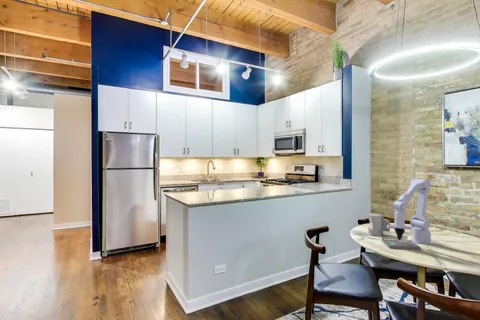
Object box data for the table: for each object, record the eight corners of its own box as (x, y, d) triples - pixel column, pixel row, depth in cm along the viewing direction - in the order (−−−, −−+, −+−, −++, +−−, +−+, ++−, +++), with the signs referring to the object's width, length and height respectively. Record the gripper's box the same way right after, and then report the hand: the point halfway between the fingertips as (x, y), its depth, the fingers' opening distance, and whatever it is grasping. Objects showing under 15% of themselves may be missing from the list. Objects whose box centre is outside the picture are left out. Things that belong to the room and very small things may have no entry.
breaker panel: (410, 243, 175) (410, 239, 175) (420, 250, 161) (420, 246, 161) (382, 241, 178) (382, 237, 178) (389, 248, 165) (389, 243, 165)
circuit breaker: (392, 236, 188) (392, 216, 188) (371, 235, 191) (371, 215, 191) (388, 233, 196) (388, 214, 195) (368, 232, 198) (368, 213, 198)
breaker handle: (405, 241, 170) (405, 235, 170) (407, 243, 167) (407, 236, 167) (400, 241, 171) (400, 234, 171) (402, 242, 168) (402, 236, 168)
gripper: (389, 220, 167) (389, 240, 167) (414, 221, 164) (414, 242, 164) (386, 217, 174) (385, 237, 174) (409, 218, 171) (409, 239, 171)
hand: (399, 239), depth 170 cm, fingers closed
